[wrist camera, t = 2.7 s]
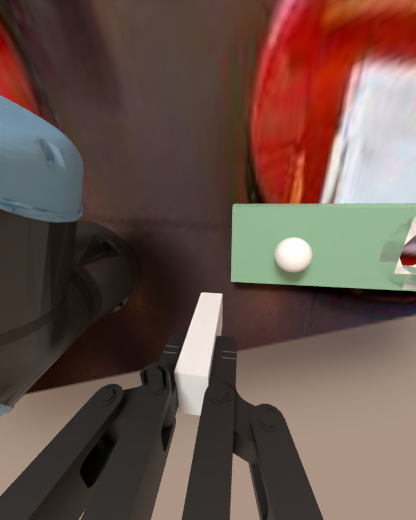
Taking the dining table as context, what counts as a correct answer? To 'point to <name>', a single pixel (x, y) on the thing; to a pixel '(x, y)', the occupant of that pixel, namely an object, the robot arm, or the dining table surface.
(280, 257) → the ball
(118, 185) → the dining table surface
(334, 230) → the green flat block
